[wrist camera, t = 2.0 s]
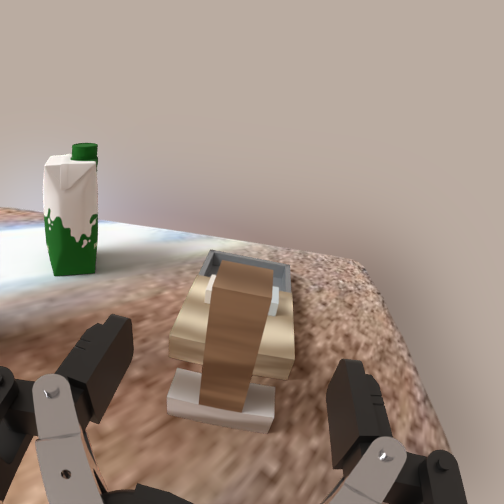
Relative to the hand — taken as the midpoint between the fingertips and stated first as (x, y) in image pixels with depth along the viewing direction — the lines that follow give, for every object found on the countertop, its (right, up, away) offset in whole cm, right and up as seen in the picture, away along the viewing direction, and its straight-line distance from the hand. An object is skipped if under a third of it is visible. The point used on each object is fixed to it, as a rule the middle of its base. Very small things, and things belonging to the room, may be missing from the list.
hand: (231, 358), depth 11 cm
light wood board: (-1, -7, +30) cm, 31 cm away
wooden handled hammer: (-2, -12, +18) cm, 22 cm away
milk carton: (-29, +2, +37) cm, 47 cm away
